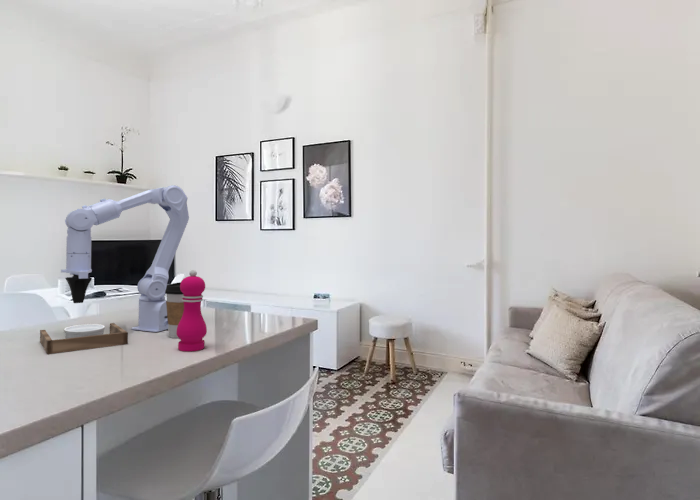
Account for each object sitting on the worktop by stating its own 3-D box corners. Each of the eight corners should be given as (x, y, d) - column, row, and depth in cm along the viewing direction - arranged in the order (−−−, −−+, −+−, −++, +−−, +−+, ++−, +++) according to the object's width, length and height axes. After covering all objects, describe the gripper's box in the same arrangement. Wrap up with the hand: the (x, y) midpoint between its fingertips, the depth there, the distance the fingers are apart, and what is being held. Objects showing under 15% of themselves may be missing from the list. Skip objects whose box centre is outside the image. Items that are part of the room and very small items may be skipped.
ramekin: (112, 342, 110) (112, 326, 110) (78, 350, 102) (78, 332, 102) (90, 338, 114) (90, 322, 114) (55, 345, 106) (56, 328, 106)
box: (40, 341, 108) (40, 330, 108) (113, 333, 120) (113, 323, 120) (47, 354, 97) (47, 341, 97) (127, 343, 109) (127, 332, 108)
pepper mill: (181, 344, 109) (182, 268, 109) (209, 345, 110) (211, 269, 110) (171, 352, 102) (173, 270, 102) (202, 352, 103) (204, 271, 102)
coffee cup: (202, 334, 122) (203, 283, 122) (181, 340, 114) (182, 285, 114) (178, 331, 125) (179, 281, 124) (157, 337, 117) (158, 283, 116)
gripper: (57, 252, 117) (56, 300, 118) (65, 254, 107) (64, 307, 107) (86, 252, 122) (86, 298, 122) (97, 254, 111) (96, 305, 112)
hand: (78, 302), depth 115 cm, fingers closed
